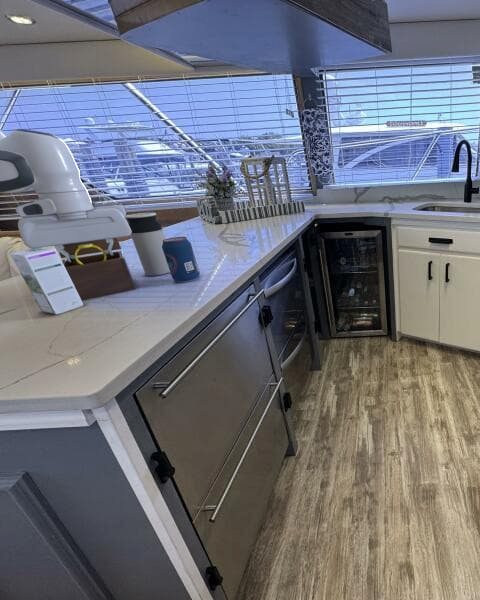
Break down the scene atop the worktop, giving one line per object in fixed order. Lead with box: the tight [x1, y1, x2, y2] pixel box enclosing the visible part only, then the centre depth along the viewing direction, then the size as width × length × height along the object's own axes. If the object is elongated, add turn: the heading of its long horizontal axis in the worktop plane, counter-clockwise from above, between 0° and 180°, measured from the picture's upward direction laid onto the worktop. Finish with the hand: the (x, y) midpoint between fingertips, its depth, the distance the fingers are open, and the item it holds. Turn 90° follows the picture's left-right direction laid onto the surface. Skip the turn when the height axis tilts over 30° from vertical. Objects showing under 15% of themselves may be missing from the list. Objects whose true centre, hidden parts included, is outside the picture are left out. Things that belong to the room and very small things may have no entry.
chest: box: [61, 250, 136, 301], centre depth 87 cm, size 12×13×9 cm
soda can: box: [162, 236, 201, 284], centre depth 92 cm, size 7×7×12 cm
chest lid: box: [58, 208, 122, 259], centre depth 87 cm, size 12×13×1 cm
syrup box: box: [9, 247, 84, 315], centre depth 74 cm, size 6×6×14 cm
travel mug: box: [125, 212, 171, 277], centre depth 98 cm, size 8×8×18 cm
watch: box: [74, 243, 106, 265], centre depth 84 cm, size 6×3×6 cm, turn 132°
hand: (91, 258), depth 84 cm, fingers closed on watch, 6 cm apart
